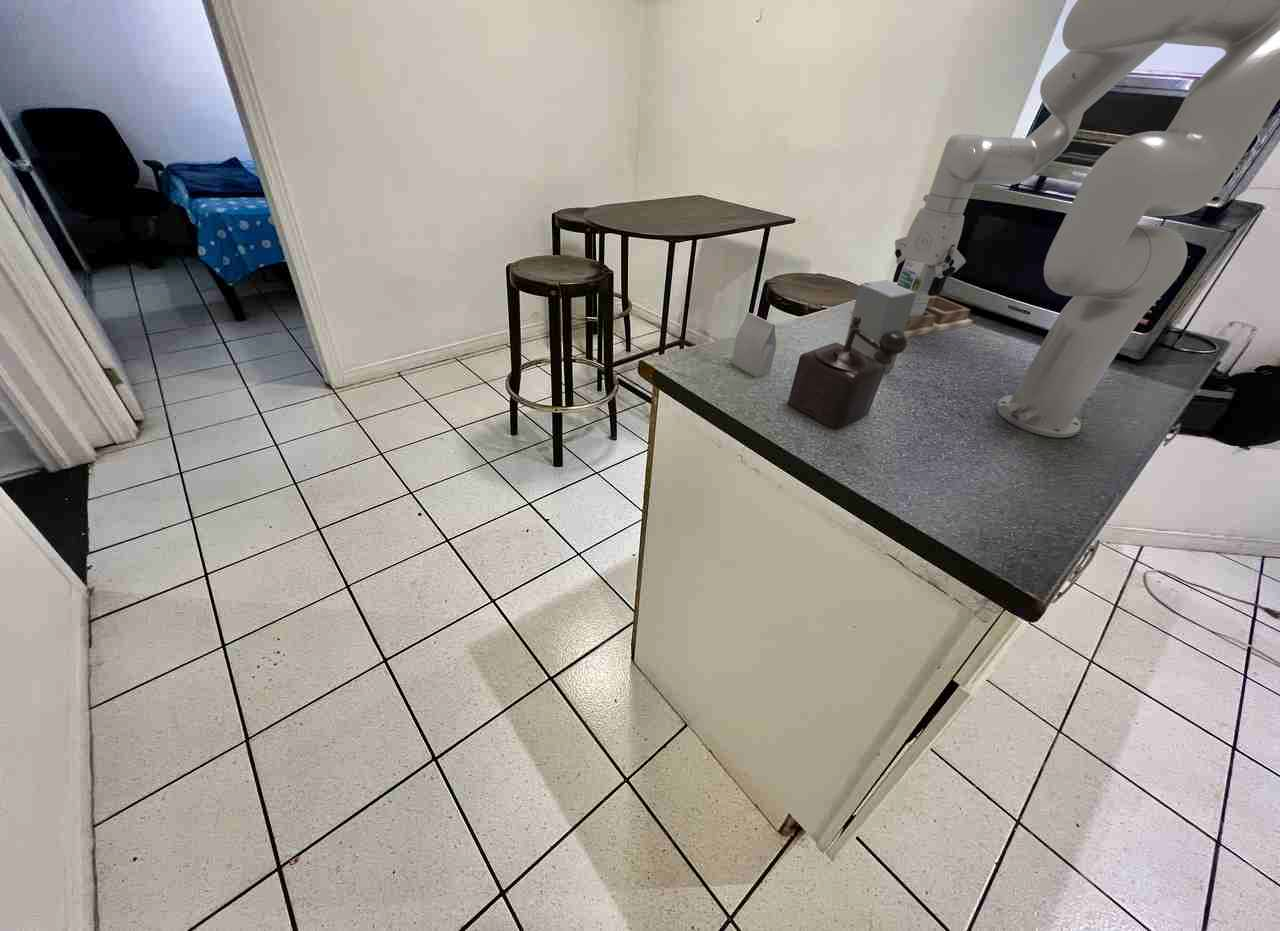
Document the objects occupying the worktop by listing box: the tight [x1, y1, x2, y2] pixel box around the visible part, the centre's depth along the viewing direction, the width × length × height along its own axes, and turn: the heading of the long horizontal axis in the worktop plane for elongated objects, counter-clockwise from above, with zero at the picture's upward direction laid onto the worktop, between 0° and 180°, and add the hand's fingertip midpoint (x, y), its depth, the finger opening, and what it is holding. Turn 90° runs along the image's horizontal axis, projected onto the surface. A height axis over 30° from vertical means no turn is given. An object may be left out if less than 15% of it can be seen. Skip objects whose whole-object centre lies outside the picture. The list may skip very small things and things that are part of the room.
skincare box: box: [844, 279, 917, 373], centre depth 101 cm, size 8×7×16 cm
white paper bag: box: [731, 311, 777, 378], centre depth 98 cm, size 4×7×10 cm, turn 35°
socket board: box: [850, 295, 974, 338], centre depth 127 cm, size 24×16×4 cm, turn 117°
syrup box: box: [896, 258, 937, 318], centre depth 119 cm, size 6×6×14 cm
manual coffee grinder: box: [787, 316, 908, 430], centre depth 84 cm, size 16×11×18 cm
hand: (915, 288), depth 118 cm, fingers open, 9 cm apart
